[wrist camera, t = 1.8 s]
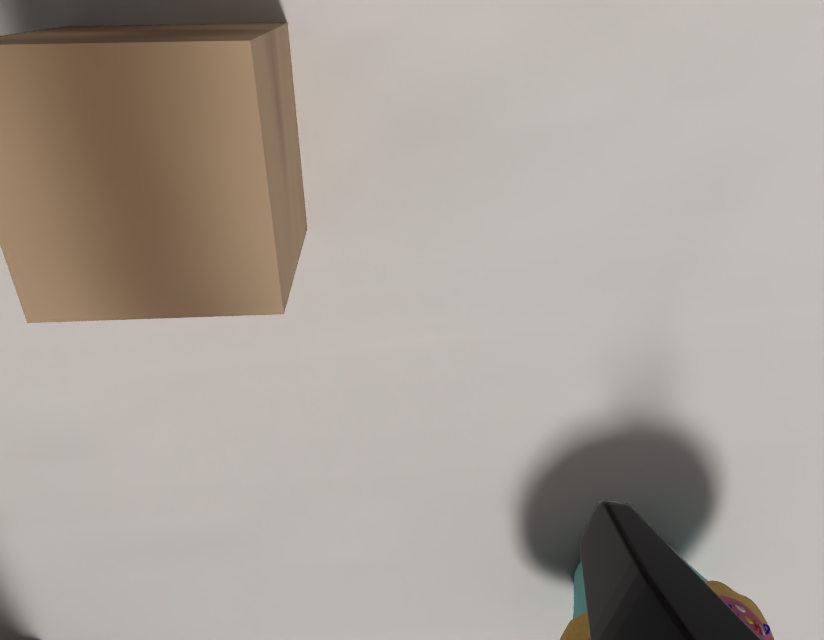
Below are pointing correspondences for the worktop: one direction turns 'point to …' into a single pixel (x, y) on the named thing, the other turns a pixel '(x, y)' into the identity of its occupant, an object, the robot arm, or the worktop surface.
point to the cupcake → (745, 608)
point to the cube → (150, 171)
